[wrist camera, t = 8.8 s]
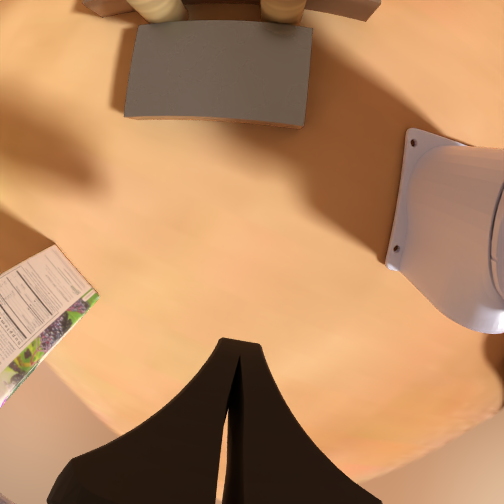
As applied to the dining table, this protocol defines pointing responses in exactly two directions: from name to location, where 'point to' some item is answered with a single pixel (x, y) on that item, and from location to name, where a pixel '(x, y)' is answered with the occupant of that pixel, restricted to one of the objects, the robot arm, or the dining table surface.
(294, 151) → the dining table surface
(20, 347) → the syrup box
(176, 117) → the steel plate
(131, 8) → the bench dog strip
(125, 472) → the robot arm
